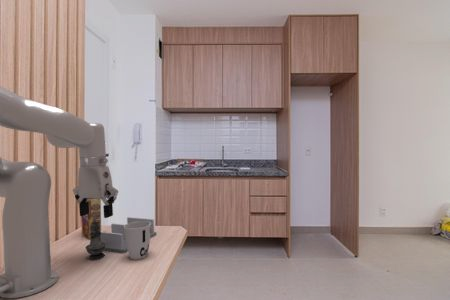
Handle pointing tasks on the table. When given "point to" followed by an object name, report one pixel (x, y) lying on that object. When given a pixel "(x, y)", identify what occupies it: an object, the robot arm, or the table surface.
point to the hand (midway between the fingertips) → (96, 215)
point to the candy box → (91, 216)
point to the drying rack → (121, 235)
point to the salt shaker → (95, 242)
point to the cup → (137, 238)
